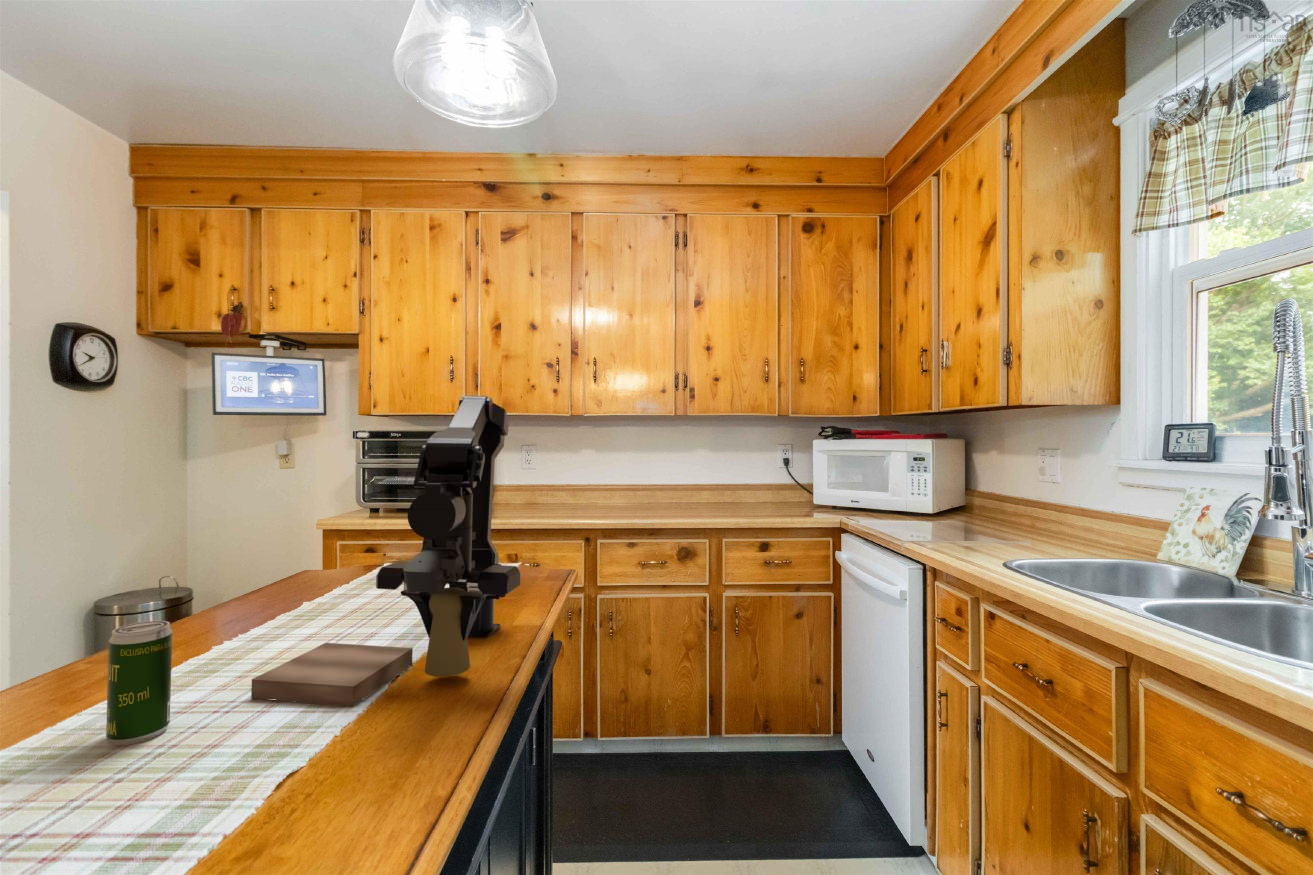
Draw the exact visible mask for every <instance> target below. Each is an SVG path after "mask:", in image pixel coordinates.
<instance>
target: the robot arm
mask: <svg viewBox="0 0 1313 875" xmlns="http://www.w3.org/2000/svg"><path fill="white" fill-rule="evenodd" d="M508 417H509V416H508V414H507V411H506V408H504V407H502V406H500V405H498V404H496V403H495V402H494V401H493V399H492V398H491V397H489V396H487V395H464V396H461V397H459V400H458V407H457V409H456V412H455V413H454V415H453V418H452V419H451V421H450V422H449V424H448V425H447V426H448V427H447V428H446V429H444V430H439V431H437V432H434V433H433V434H432V435H430V437H429V438H427V440H426V443H425V444H424V445H422V447H421V451H420V455H419V457H418V463H417V468H416V472H415V476H414V480H413V488H424V493H422V494H420V495H417V497H415V498H414V500H413V501H412V502H411V504H410V506H409V508H408V510H407V522H408V526H409V527H410V529H411V530H412V531H413V533H415V534H416V535H417V536H419V537H420V538H423V540H422V544H421V546H422V547H421V549H420V550H421V551H420V552H419V553H417V554H415V555H414V556H413V557H412V559H410V560H406V561H405V560H404V561H403V560H398V561H395V562H393V563H390V564H387V565H384V566H382V567H380V568H379V570H378V572H377V574H376V576H375V579H376V580H375V589H379V590H392V591H393V590H398V589H399V588H400V586H402V585H403V590H401V591H400V593H399V594H400V595H402V596H403V597H407V598H409V599H410V600H411V601H412V602H413V603H414V604H415V606H416V608H417V610H418V613H419V616H420V617H421V621H422V623H423V626H424V628H425V631H426V634H427V636H428V639H429V638H430V632H431V625H432V619H433V613H432V612H431V611H430V608H429V600H430V597H431V595H432V594H434V593H439V592H441V591H442V590H443V589H444V588H446V585H448V588H451V587H452V588H461V589H463V590H465V591H466V592H465V593H463V594H461V595H460V599H461V602H462V604H463V607H462V621H461V635H462V639H463V641H465V640H466V639H467V640H468V638H479V639H480V638H484V639H486V638H489V637H490V636H491V635H492V634H494V633H496V631H498V630H499V629H500V628H501V623H495V622H494V619H495V616H494V615H495V600H500V599H501V598H504V597H506V596H507V595H508V594H509V593H511V592H513V591H514V590H515V589H517V588H518V587H519V586H520V585H521V572H520V570H519V568H518V567H517V566H516V565H504V564H503V565H502V564H501V563H499V560H500V556H499V553H498V550H497V549H496V548H495V545H494V544H493V542H492V540H491V537H492V534H491V533H492V516H493V499H494V498H493V496H494V495H493V494H494V477H495V476H494V475H495V459H496V458H497V457H498V455H499V454H500V452H501V451H502V450H503V448H504V447H505V437H506V436H508V435H509V418H508Z"/></svg>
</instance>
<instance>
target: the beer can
mask: <svg viewBox="0 0 1313 875" xmlns="http://www.w3.org/2000/svg"><path fill="white" fill-rule="evenodd" d="M170 626H171V622H170V621H167V620H147V621H146V620H145V621H142V622H141V621H140V622H134V623H131V624H129V623H128V624H126V625H122V626H119V627H116V628H114V629H113V630H112V631H111V636H110V639H109V640H108V658H107V660H108V661H107V662H108V663H107V665H108V666H107V694H106V728H105V730H106V732H105V737H106V739H107V741H108V742H109V743H110V744H111V745H113V746H129V745H136V744H140V743H143V742H146V741H150V740H151V739H154V738H157V737H159V736H160V735H161V734H163V733H165V731H166V730H167V728H168V726H169V724H170V722H171V694H172V693H171V690H172V688H171V687H172V651H173V649H172V648H173V630H172V628H171V627H170Z"/></svg>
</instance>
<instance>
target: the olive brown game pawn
mask: <svg viewBox="0 0 1313 875" xmlns="http://www.w3.org/2000/svg"><path fill="white" fill-rule="evenodd" d="M465 592H466V591H465V590H463V589H461V588H452V587H451V588H449V587H445V588H444V589H443V590H442V591H441V592H439V593H434V594H432V595H431V597H430V600H429V608H430V611H431V612H432V613H433V619H432V625H431V632H430V638H429V637H428V646H427V652H426V658H425V663H424V664H425V666H424V669H423V671H424V673H425V675H428V676H431V677H436V678H437V677H438V678H439V677H441V678H443V677H444V678H445V677H451V676H457V675H460V674H463V673H465V672H467V671H468V670H469V669H470V668H471V661H470V653H469V644H468V643H469V642H468V638H467V639H466V640H465V641H463V639H462V635H461V621H462V607H463V604H462V602H461V599H460V595H461V594H463V593H465Z"/></svg>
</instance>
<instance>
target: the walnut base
mask: <svg viewBox="0 0 1313 875" xmlns="http://www.w3.org/2000/svg"><path fill="white" fill-rule="evenodd" d="M413 651H414V650H413V647H403V646H402V647H400V646H387V645H386V646H385V645H384V646H383V645H372V644H371V645H368V644H367V645H366V644H352V643H334V642H324V643H323V644H320V645H319V646H317V647H314V648H312V649H311V650H308V651H306V652H305V653H302V654H300V655H298V656H296V657H294V658H292V659H291V660H288V661H286V662H284V663H282V664H280V665H277V666H276V667H273V668H272V669H270V670H268V671H266V672H264V673H262V674H260V675H257V676H255V677H254V678H252V679H251V693H250V694H251V695H250V698H251V699H250V700H259V699H276V700H283V701H282V702H286V701H296V702H295V703H299V702H306V703H305V704H313V703H314V704H315V705H327V706H328V705H329V706H342V707H354V706H356V705H357V704H358V702H359V701H360V702H362V701H363V700H364V699H365V697H366V696H367V697H368V695H369V694H370V695H371V694H373V693H374V692H375V690H376V691H378V689H380V688H381V687H383V686H384V685H386V684H387V683H389V682H390V681H391V680H393V679H394V678H396V677H397V676H398V675H399V674H402V673H403V672H404V671H406V670H407V669H409V668H410V667H411V666H413ZM409 666H410V667H409ZM385 683H386V684H385ZM382 685H383V686H382ZM372 692H373V693H372ZM370 695H369V696H370ZM367 697H366V698H367ZM363 698H364V699H363ZM362 699H363V700H362ZM360 702H359V703H360ZM355 704H356V705H355Z"/></svg>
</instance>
